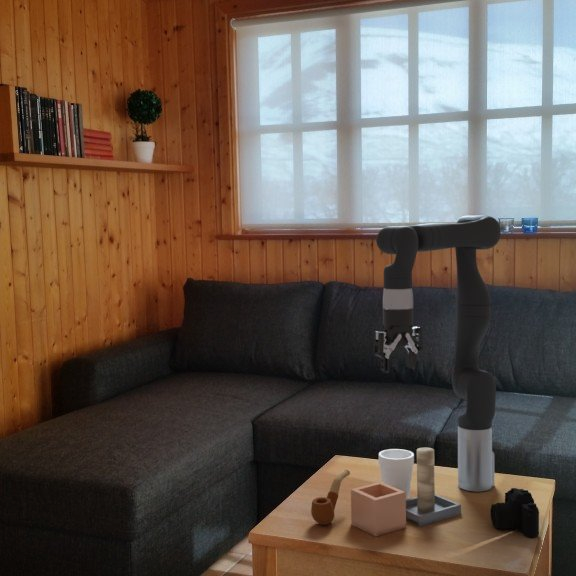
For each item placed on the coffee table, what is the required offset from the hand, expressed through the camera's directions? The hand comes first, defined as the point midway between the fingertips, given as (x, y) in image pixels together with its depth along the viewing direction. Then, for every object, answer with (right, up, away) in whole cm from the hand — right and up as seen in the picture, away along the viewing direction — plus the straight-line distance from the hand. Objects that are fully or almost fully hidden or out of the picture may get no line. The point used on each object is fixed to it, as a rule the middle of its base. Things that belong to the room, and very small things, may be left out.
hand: (398, 370), depth 199 cm
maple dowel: (+8, -37, +6) cm, 38 cm away
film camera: (+27, -38, -4) cm, 47 cm away
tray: (+8, -38, +6) cm, 39 cm away
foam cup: (+2, -37, +15) cm, 40 cm away
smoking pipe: (-17, -38, +5) cm, 42 cm away
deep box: (-5, -39, -2) cm, 39 cm away
